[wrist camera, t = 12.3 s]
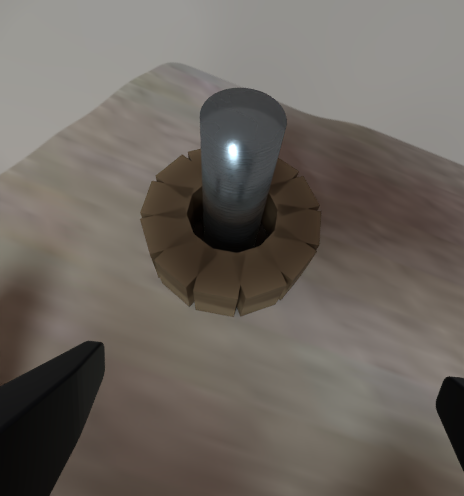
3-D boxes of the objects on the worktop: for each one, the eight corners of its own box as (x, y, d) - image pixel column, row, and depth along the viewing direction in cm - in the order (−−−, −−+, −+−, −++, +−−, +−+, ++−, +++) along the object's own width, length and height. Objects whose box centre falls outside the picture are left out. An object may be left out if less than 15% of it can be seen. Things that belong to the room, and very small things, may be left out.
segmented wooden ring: (331, 284, 24) (352, 262, 21) (176, 338, 22) (169, 324, 18) (269, 165, 29) (277, 131, 26) (136, 198, 27) (125, 166, 23)
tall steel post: (262, 254, 25) (301, 138, 15) (213, 269, 24) (216, 159, 14) (244, 212, 27) (266, 81, 16) (197, 225, 26) (188, 96, 15)
